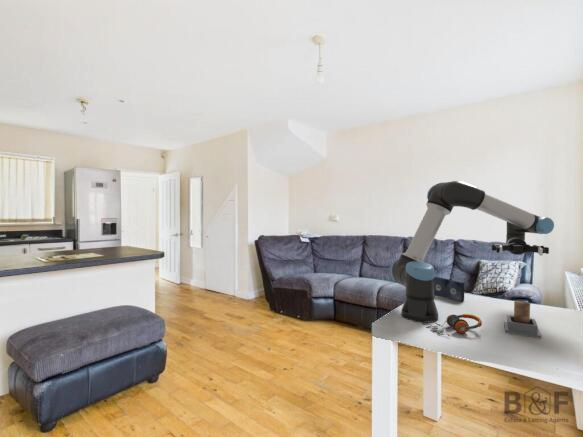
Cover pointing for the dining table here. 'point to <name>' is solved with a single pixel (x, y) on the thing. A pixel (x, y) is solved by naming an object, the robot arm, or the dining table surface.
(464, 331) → the headphones
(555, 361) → the dining table surface
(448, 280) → the vhs cassette tape
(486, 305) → the dining table surface
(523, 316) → the walnut cylinder
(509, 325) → the grey square tray
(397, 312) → the dining table surface
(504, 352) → the dining table surface
